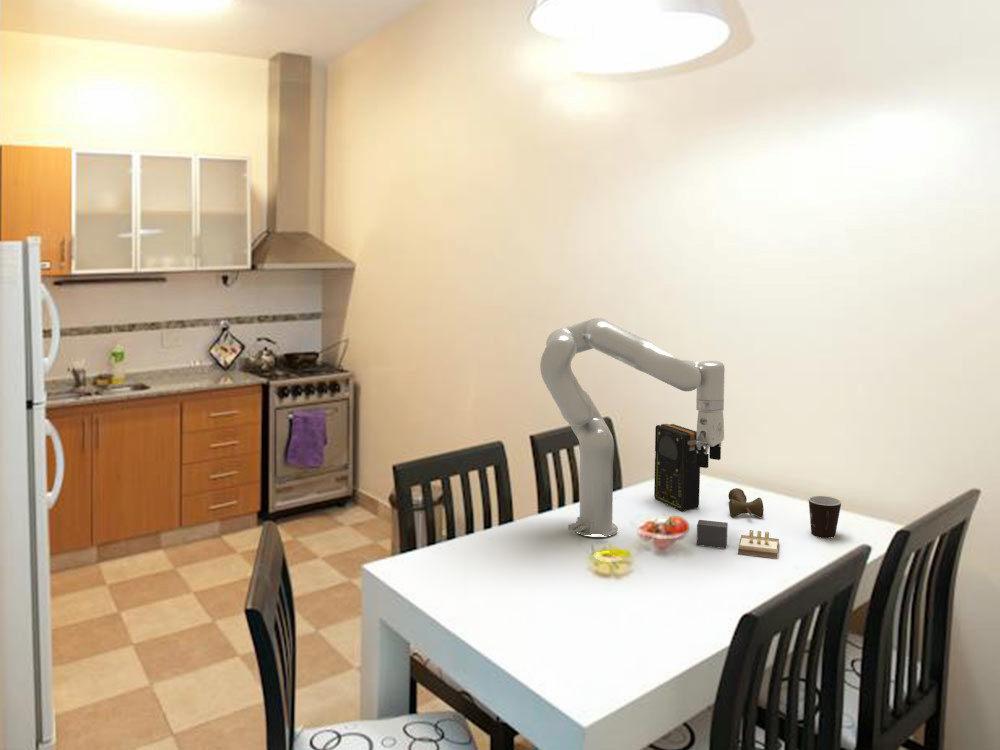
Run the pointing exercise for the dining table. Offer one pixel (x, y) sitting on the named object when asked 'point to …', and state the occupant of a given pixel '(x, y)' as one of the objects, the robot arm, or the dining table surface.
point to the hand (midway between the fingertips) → (708, 463)
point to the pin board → (758, 545)
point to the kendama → (744, 504)
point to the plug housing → (712, 533)
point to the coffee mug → (824, 515)
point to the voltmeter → (676, 467)
